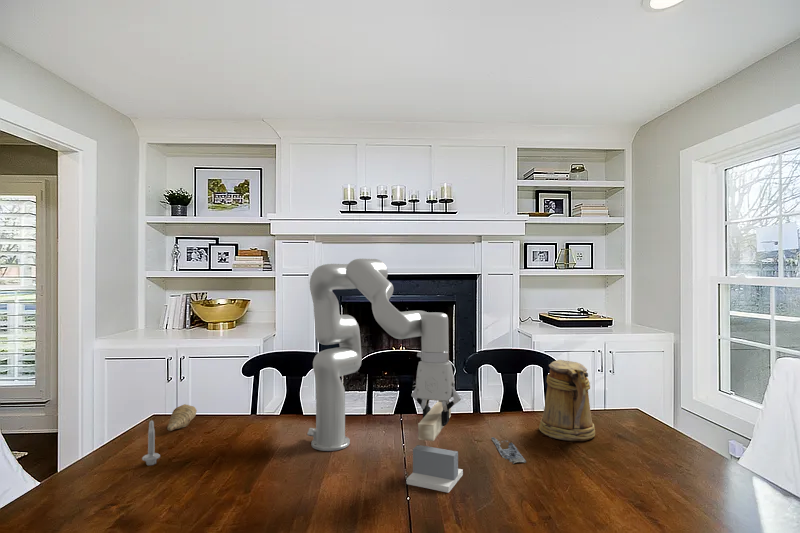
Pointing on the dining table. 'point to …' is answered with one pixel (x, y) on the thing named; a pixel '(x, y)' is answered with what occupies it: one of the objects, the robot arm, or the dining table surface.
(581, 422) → the tankard
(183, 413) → the seashell
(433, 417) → the rod
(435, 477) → the ridge
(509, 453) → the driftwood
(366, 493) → the dining table surface
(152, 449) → the screw
